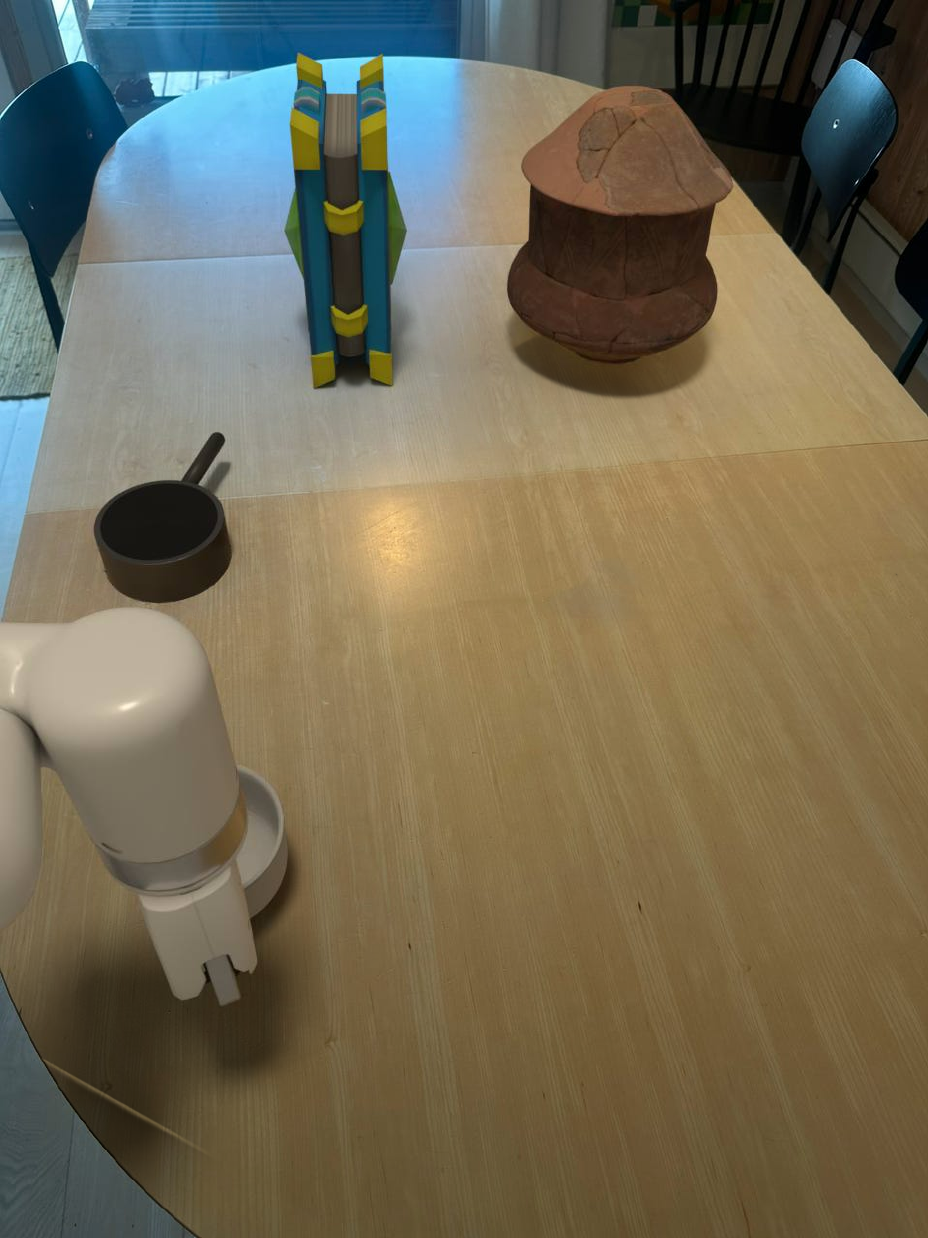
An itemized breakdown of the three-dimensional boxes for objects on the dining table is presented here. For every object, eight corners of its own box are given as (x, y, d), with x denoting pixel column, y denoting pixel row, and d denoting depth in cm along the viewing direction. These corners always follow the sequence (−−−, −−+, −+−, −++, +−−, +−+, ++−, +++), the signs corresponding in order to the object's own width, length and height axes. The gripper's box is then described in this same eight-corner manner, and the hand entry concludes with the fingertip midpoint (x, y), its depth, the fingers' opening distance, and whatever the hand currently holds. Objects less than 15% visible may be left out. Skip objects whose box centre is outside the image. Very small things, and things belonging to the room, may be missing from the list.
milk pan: (83, 589, 92) (69, 551, 88) (173, 457, 106) (165, 419, 102) (203, 612, 91) (194, 574, 87) (278, 475, 104) (273, 437, 101)
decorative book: (404, 296, 131) (402, 50, 109) (411, 395, 115) (410, 131, 93) (298, 297, 130) (274, 48, 108) (290, 397, 114) (260, 130, 92)
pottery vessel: (715, 411, 116) (785, 152, 93) (501, 399, 116) (521, 138, 93) (689, 300, 133) (744, 60, 111) (504, 290, 133) (521, 47, 111)
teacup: (320, 851, 74) (312, 795, 68) (241, 977, 68) (224, 926, 62) (170, 783, 78) (150, 724, 72) (80, 896, 71) (50, 841, 65)
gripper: (70, 725, 52) (143, 885, 66) (120, 978, 43) (193, 1103, 57) (207, 684, 54) (251, 847, 68) (283, 916, 45) (316, 1051, 59)
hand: (224, 963), depth 62 cm, fingers closed
